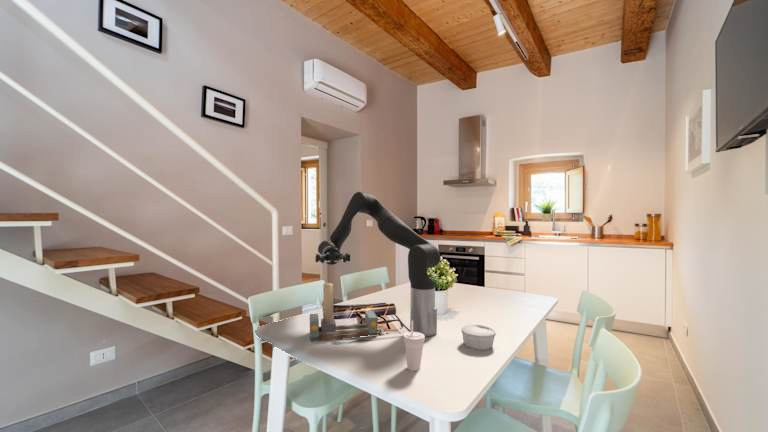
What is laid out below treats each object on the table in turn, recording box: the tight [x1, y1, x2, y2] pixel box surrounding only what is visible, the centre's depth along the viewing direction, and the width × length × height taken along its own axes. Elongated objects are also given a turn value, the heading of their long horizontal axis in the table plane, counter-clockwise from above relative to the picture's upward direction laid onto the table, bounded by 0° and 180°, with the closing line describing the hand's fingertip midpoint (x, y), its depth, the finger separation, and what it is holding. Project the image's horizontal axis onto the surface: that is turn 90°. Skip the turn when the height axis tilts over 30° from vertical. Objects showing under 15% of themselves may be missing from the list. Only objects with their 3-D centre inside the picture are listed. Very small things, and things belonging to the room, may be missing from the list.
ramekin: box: [461, 324, 496, 351], centre depth 119 cm, size 11×11×5 cm
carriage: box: [320, 282, 337, 332], centre depth 126 cm, size 5×7×16 cm
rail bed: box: [312, 323, 378, 342], centre depth 128 cm, size 24×9×2 cm, turn 103°
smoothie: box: [402, 320, 426, 372], centre depth 101 cm, size 6×6×14 cm
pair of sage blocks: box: [309, 310, 378, 342], centre depth 127 cm, size 24×9×7 cm, turn 103°
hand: (334, 260), depth 137 cm, fingers open, 8 cm apart
